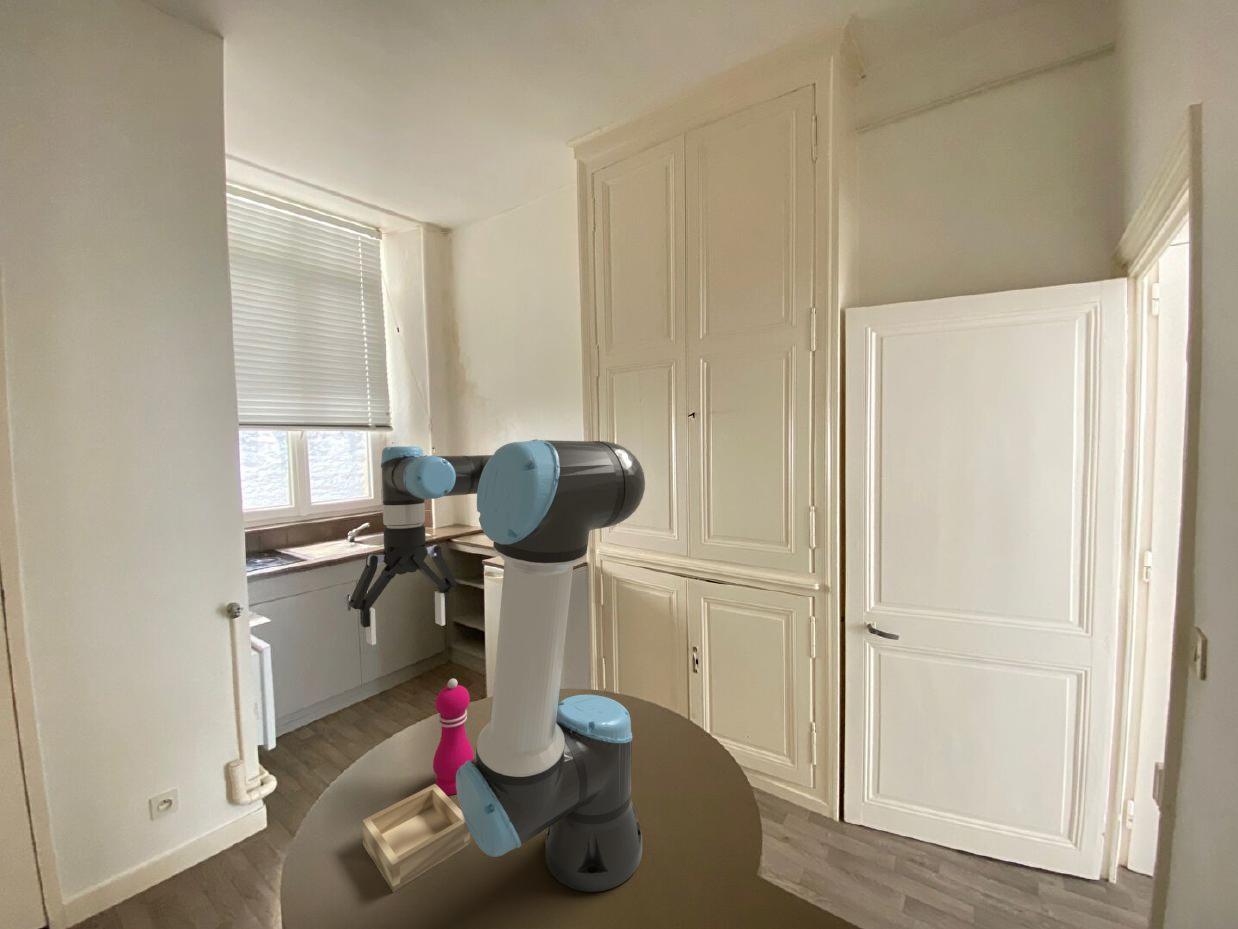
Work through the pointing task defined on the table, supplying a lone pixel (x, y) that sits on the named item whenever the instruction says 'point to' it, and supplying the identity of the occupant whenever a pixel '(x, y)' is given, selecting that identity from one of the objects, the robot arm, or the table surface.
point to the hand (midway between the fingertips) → (407, 633)
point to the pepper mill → (451, 736)
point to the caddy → (414, 835)
